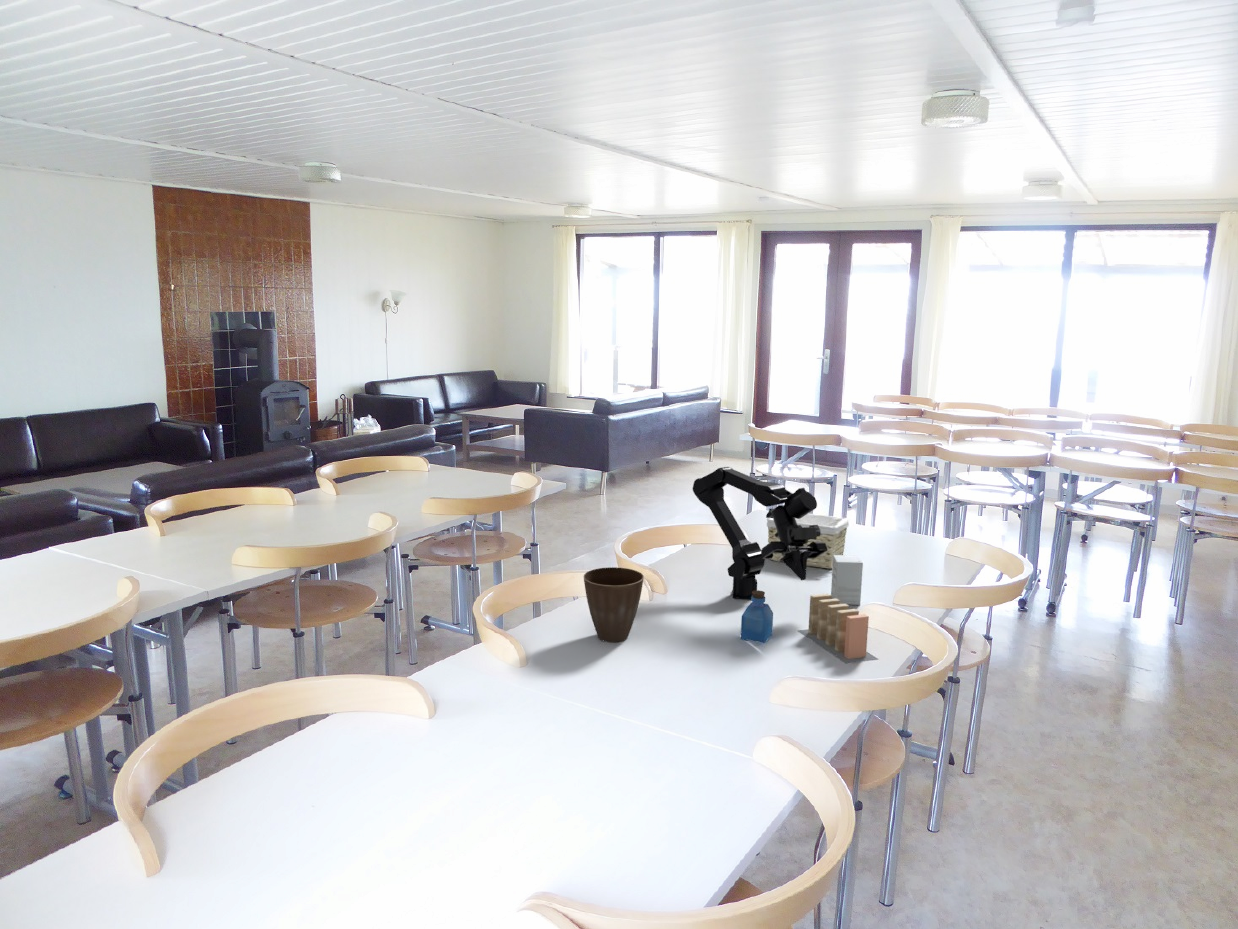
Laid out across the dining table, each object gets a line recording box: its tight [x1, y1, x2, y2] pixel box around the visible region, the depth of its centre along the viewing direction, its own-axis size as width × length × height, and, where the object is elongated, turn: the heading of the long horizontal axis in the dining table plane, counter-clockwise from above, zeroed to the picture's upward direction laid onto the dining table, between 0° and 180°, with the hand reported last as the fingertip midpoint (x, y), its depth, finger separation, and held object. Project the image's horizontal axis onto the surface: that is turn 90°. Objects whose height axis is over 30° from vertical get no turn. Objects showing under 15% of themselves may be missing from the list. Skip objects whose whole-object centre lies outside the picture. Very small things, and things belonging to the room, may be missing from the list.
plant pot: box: [583, 566, 645, 643], centre depth 211 cm, size 15×15×16 cm
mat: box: [797, 628, 879, 664], centre depth 209 cm, size 22×9×1 cm, turn 19°
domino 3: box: [826, 604, 850, 646], centre depth 208 cm, size 2×5×10 cm, turn 109°
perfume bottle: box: [740, 589, 774, 644], centre depth 213 cm, size 6×6×12 cm
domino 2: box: [817, 598, 840, 641], centre depth 212 cm, size 2×5×10 cm, turn 109°
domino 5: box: [844, 613, 870, 659], centre depth 201 cm, size 2×5×10 cm, turn 109°
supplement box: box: [830, 554, 864, 606], centre depth 242 cm, size 7×7×13 cm
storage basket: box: [766, 513, 849, 570], centre depth 283 cm, size 24×16×15 cm
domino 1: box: [807, 593, 832, 635], centre depth 216 cm, size 2×5×10 cm, turn 109°
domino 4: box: [835, 608, 860, 653], centre depth 205 cm, size 2×5×10 cm, turn 109°
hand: (803, 579), depth 224 cm, fingers closed
